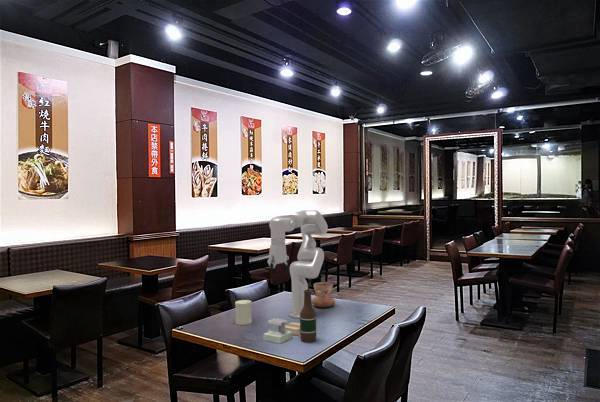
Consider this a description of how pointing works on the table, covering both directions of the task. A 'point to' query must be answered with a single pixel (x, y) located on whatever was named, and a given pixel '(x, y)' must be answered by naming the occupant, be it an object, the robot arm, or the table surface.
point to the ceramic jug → (323, 295)
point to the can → (243, 312)
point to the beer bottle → (307, 319)
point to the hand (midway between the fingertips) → (278, 274)
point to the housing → (277, 326)
